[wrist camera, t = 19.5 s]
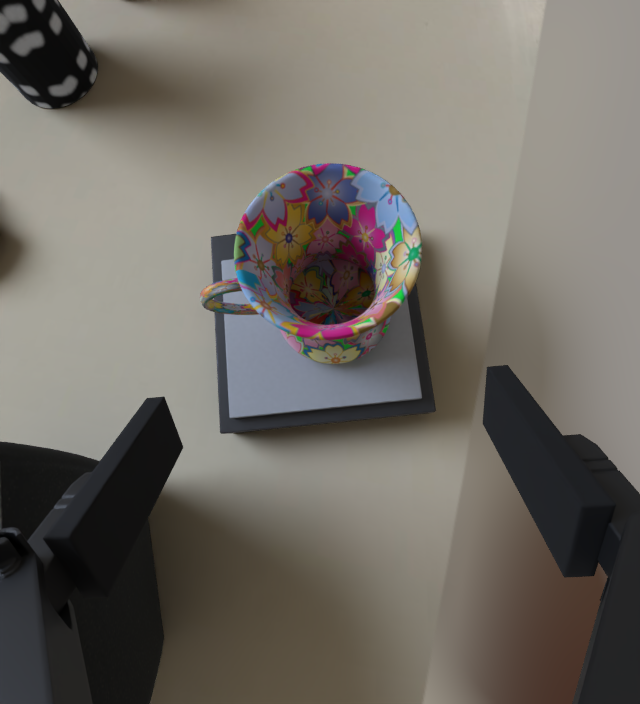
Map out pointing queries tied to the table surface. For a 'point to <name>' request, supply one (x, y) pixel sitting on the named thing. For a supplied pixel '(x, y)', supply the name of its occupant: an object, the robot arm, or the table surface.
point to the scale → (312, 369)
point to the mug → (324, 260)
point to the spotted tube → (44, 53)
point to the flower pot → (91, 613)
